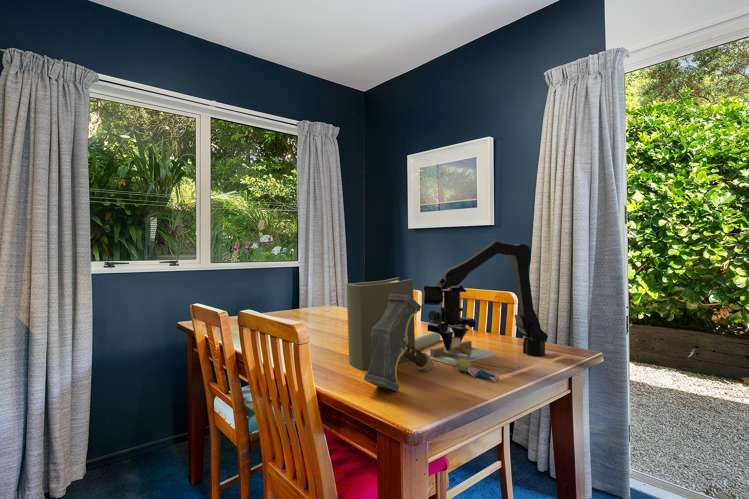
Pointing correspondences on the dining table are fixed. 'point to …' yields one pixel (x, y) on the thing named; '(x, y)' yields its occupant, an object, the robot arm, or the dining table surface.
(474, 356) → the board
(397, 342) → the hammer
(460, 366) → the figurine
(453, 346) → the wooden block with peg
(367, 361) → the book
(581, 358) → the dining table surface
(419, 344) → the tube
